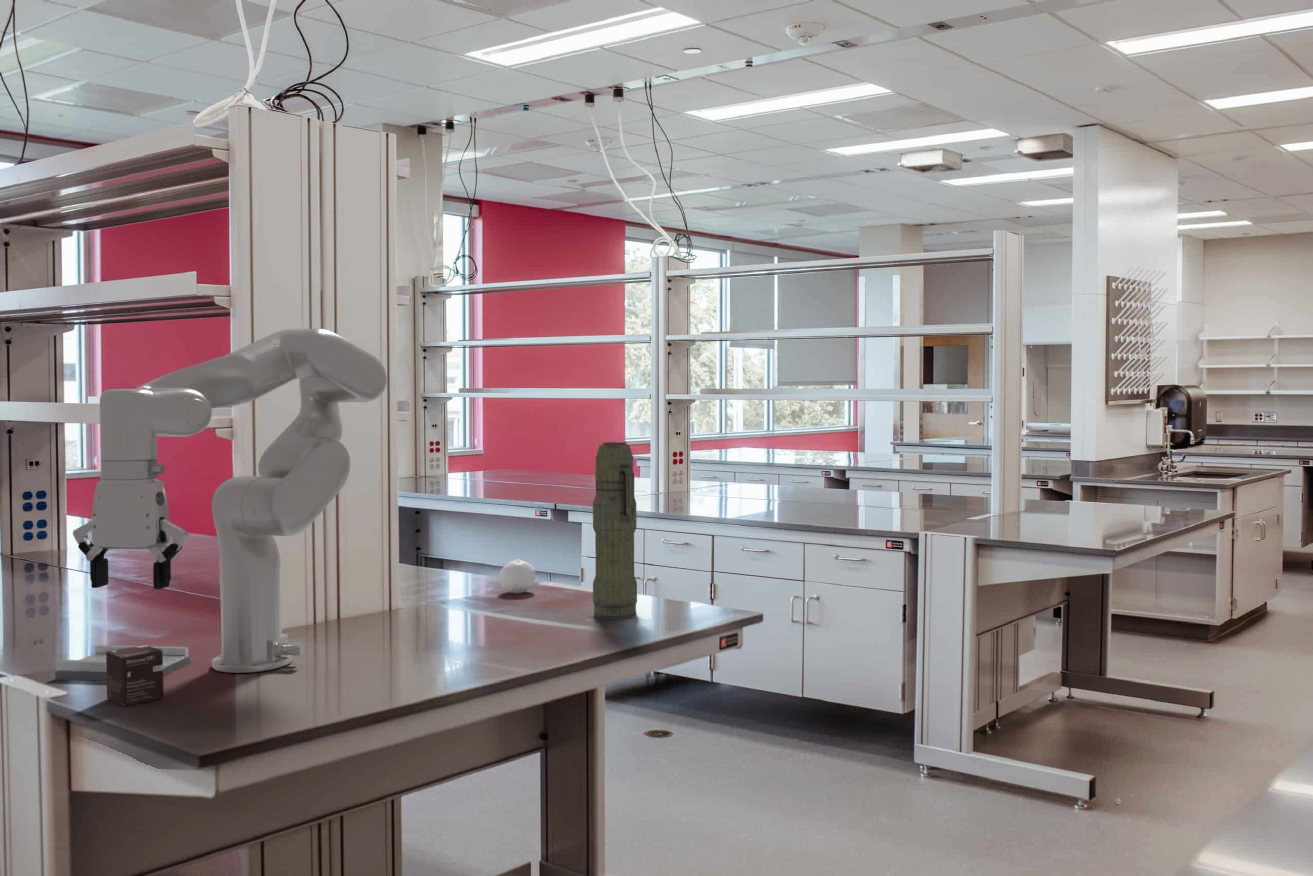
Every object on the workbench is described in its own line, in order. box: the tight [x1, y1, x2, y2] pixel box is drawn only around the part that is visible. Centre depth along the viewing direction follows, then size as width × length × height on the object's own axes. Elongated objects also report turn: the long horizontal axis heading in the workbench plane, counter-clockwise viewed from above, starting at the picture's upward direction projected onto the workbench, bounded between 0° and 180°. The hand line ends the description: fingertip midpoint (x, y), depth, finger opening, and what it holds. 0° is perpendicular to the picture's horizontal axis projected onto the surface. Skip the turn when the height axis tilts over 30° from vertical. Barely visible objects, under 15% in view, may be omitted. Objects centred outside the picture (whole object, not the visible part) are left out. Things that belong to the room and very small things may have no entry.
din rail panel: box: [54, 644, 191, 682], centre depth 181 cm, size 16×12×3 cm
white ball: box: [499, 559, 536, 595], centre depth 247 cm, size 8×8×8 cm
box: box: [106, 644, 165, 707], centre depth 164 cm, size 6×6×7 cm
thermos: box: [592, 441, 638, 620], centre depth 223 cm, size 9×12×35 cm
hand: (130, 587), depth 164 cm, fingers open, 9 cm apart
